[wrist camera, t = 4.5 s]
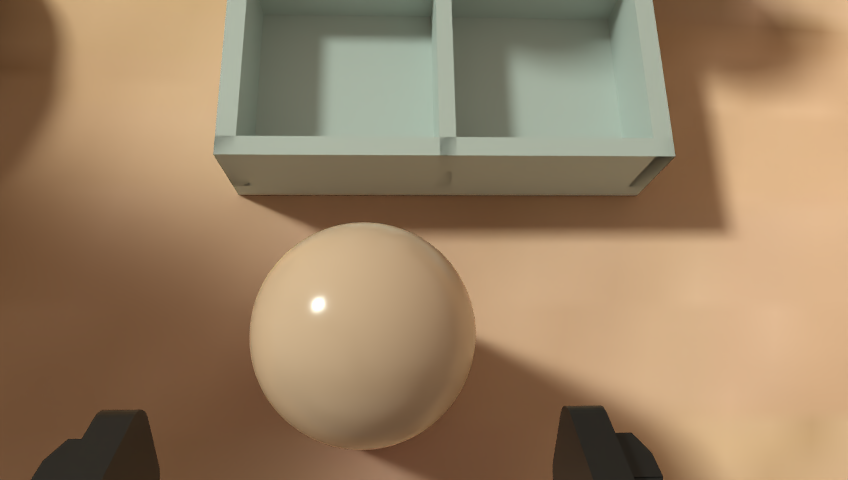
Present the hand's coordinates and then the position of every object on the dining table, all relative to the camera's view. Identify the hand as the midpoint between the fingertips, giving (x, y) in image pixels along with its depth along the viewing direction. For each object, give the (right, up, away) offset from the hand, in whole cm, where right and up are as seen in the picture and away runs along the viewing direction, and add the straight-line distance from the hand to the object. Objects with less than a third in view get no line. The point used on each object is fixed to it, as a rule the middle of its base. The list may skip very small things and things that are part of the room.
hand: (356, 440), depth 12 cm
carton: (+2, +15, +13) cm, 20 cm away
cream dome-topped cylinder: (0, 0, +8) cm, 8 cm away
